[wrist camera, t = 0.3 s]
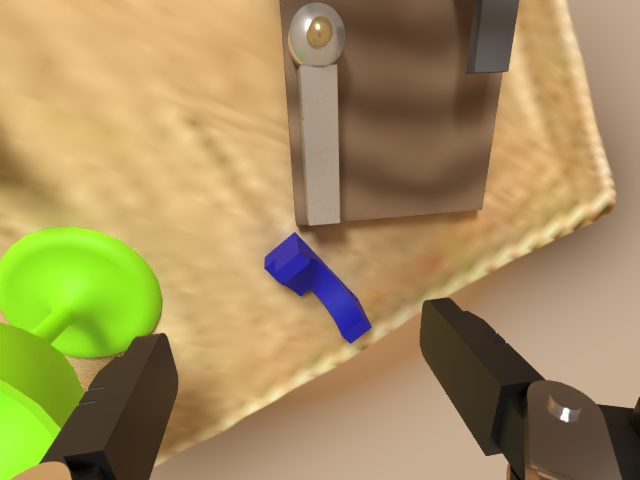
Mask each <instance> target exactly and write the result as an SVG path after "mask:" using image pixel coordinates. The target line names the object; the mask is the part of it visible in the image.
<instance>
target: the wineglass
mask: <svg viewBox="0 0 640 480" xmlns="http://www.w3.org/2000/svg"><path fill="white" fill-rule="evenodd" d="M161 305H162V295H161V291H160V287H159V282H158V280H157V278H156V277H155V275H154V273H153V271H152V270H151V268H150V266H149V265H148V264H147V263H146V262H145V261H144V260H143V259H142V258H141V257H140V256H139V255H138V253H137V252H136V251H134V250H133V249H131V248H130V247H128V246H127V245H125V244H124V243H122V242H121V241H119V240H117V239H116V238H113V237H110V236H108V235H105V234H103V233H100V232H97V231H95V230H89V229H82V228H76V227H59V228H47V229H44V230H41V231H38V232H35V233H32V234H28V235H26V236H25V237H23V238H22V239H21V240H19V241H18V242H16V243H15V244H13V245H12V246H11V247H10V248H9V249H8V250H7V252H6V253H5V255H4V256H3V257H2V259H1V260H0V310H1V312H2V314H3V316H4V317H5V318H6V320H7V321H8V322H9V323H10V324H11V325H12V326H10V325H7V324H3V323H0V480H10V479H11V478H13V477H14V476H16V475H18V474H19V473H21V472H23V471H25V470H26V469H28V468H31V467H33V466H35V465H38V464H39V463H40V461H41V460H42V458H43V457H44V455H45V454H46V452H47V450H48V449H49V447H50V446H51V444H52V443H53V441H54V440H55V438H56V437H57V435H58V434H59V432H60V431H61V429H62V427H63V426H64V424H65V423H66V421H67V420H68V418H69V417H70V415H71V414H72V412H73V411H74V409H75V408H76V406H79V401H80V400H81V398H82V397H83V395H84V392H83V390H82V387H81V385H80V382H79V380H78V377H77V375H76V372H75V370H74V368H73V367H72V365H71V364H70V363H69V361H68V360H67V359H66V358H65V356H69V357H80V358H96V357H105V356H111V355H114V354H117V353H120V352H123V351H126V350H127V349H128V347H129V345H130V344H131V342H132V340H133V339H134V338H135V337H137V336H144V335H148V334H149V333H150V332H151V331H152V330H153V329H154V328H155V325H156V323H157V321H158V319H159V316H160V314H161ZM64 355H65V356H64Z"/></svg>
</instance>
